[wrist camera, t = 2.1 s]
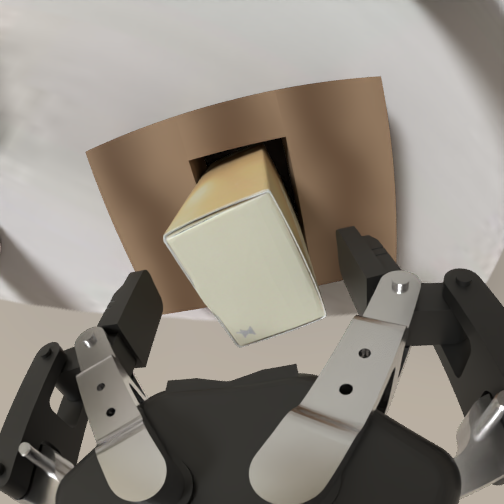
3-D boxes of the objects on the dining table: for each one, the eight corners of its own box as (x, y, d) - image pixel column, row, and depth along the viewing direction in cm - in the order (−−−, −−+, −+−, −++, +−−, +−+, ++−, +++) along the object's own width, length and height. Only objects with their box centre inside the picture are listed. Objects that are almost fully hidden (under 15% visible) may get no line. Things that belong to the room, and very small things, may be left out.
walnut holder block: (355, 78, 18) (380, 76, 14) (375, 238, 24) (396, 267, 20) (114, 139, 20) (85, 151, 16) (170, 281, 26) (157, 315, 22)
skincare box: (296, 211, 23) (333, 323, 12) (244, 233, 24) (240, 355, 13) (260, 134, 20) (272, 185, 9) (205, 161, 21) (157, 239, 10)
